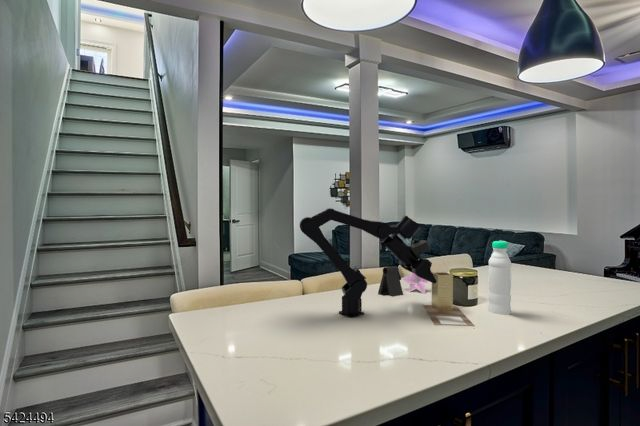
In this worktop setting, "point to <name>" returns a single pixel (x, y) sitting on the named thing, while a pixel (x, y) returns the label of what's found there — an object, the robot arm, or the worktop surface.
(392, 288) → the phone stand
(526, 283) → the worktop surface
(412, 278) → the lily
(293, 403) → the worktop surface
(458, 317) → the shaft board
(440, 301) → the sleeve
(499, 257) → the water bottle
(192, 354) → the worktop surface
